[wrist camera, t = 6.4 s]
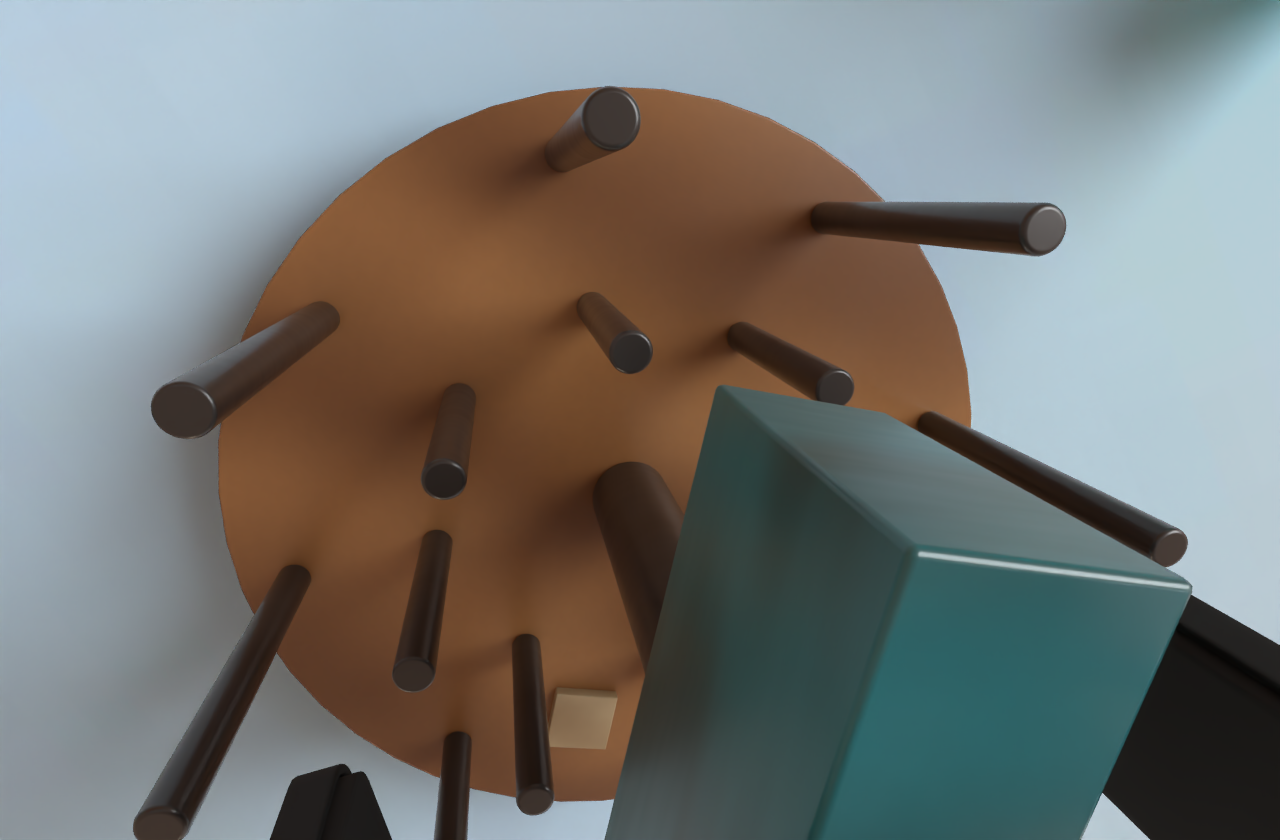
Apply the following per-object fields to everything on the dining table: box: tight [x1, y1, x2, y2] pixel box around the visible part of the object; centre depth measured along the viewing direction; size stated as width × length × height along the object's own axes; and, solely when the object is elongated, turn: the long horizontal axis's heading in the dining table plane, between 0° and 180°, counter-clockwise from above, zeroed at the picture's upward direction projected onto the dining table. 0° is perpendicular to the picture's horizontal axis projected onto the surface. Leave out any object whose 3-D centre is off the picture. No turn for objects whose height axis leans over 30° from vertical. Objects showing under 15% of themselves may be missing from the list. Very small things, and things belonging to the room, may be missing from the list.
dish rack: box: [133, 86, 1192, 840], centre depth 12 cm, size 18×18×13 cm
